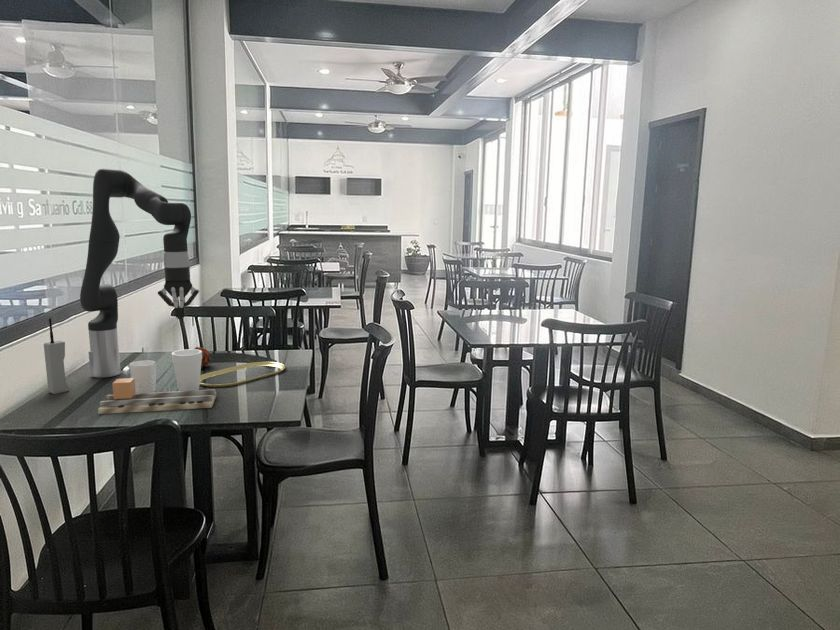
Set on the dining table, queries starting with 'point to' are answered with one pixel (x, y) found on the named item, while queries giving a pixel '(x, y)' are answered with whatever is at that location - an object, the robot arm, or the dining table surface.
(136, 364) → the white cup
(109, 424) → the dining table surface
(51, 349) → the vintage mobile phone
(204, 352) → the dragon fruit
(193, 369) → the foam cup
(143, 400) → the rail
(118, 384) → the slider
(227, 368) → the gold oval ring
